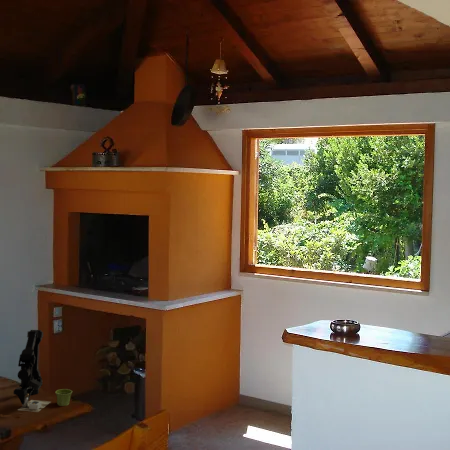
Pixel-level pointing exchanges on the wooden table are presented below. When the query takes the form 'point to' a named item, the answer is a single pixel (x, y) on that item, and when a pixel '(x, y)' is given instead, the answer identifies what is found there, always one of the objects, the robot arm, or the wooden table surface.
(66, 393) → the plant pot
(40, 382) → the robot arm
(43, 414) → the wooden table surface
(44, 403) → the board
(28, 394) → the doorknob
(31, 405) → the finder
